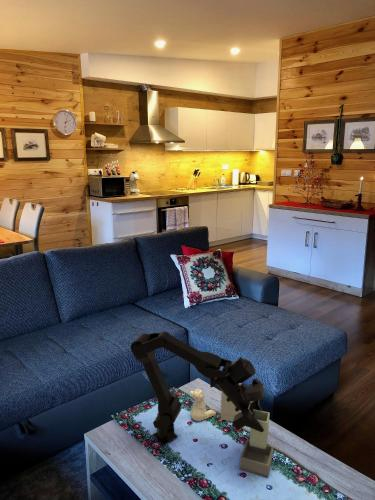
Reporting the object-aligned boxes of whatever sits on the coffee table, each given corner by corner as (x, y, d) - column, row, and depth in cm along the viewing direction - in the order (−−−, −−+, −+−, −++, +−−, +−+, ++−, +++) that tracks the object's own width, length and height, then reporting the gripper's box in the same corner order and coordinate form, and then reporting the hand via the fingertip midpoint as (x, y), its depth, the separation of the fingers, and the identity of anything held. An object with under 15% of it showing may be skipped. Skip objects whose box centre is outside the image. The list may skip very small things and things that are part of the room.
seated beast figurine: (216, 415, 155) (217, 387, 152) (204, 427, 149) (204, 399, 146) (196, 406, 161) (196, 379, 158) (183, 417, 154) (183, 390, 151)
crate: (239, 469, 129) (240, 457, 128) (246, 450, 137) (246, 439, 136) (267, 477, 126) (268, 465, 125) (272, 457, 134) (273, 446, 133)
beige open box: (249, 445, 130) (251, 419, 128) (252, 434, 135) (253, 409, 132) (265, 449, 129) (267, 422, 126) (267, 438, 133) (269, 412, 131)
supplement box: (239, 423, 151) (240, 393, 148) (220, 420, 152) (220, 391, 149) (240, 411, 158) (242, 382, 155) (222, 408, 159) (223, 380, 156)
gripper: (244, 393, 118) (280, 434, 118) (255, 362, 136) (286, 397, 135) (218, 410, 123) (252, 449, 122) (231, 378, 140) (261, 412, 139)
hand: (264, 425), depth 130 cm, fingers closed on beige open box, 5 cm apart
